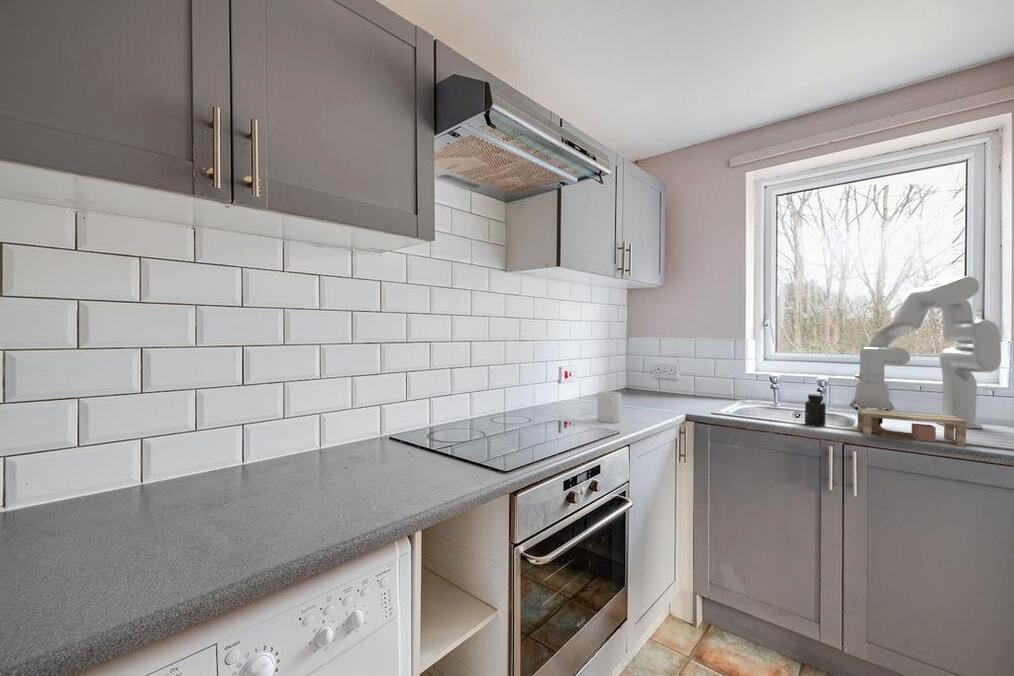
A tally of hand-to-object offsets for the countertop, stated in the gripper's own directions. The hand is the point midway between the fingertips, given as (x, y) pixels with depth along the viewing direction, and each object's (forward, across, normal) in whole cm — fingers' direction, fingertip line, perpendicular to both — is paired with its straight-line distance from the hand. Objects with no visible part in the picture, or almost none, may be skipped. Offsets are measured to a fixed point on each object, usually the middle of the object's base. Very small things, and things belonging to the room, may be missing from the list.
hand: (871, 424), depth 172 cm
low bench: (+1, +7, -18) cm, 19 cm away
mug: (+1, -91, -47) cm, 102 cm away
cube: (+1, +11, -18) cm, 21 cm away
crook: (+1, +2, -11) cm, 11 cm away
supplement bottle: (+1, -19, -9) cm, 21 cm away
